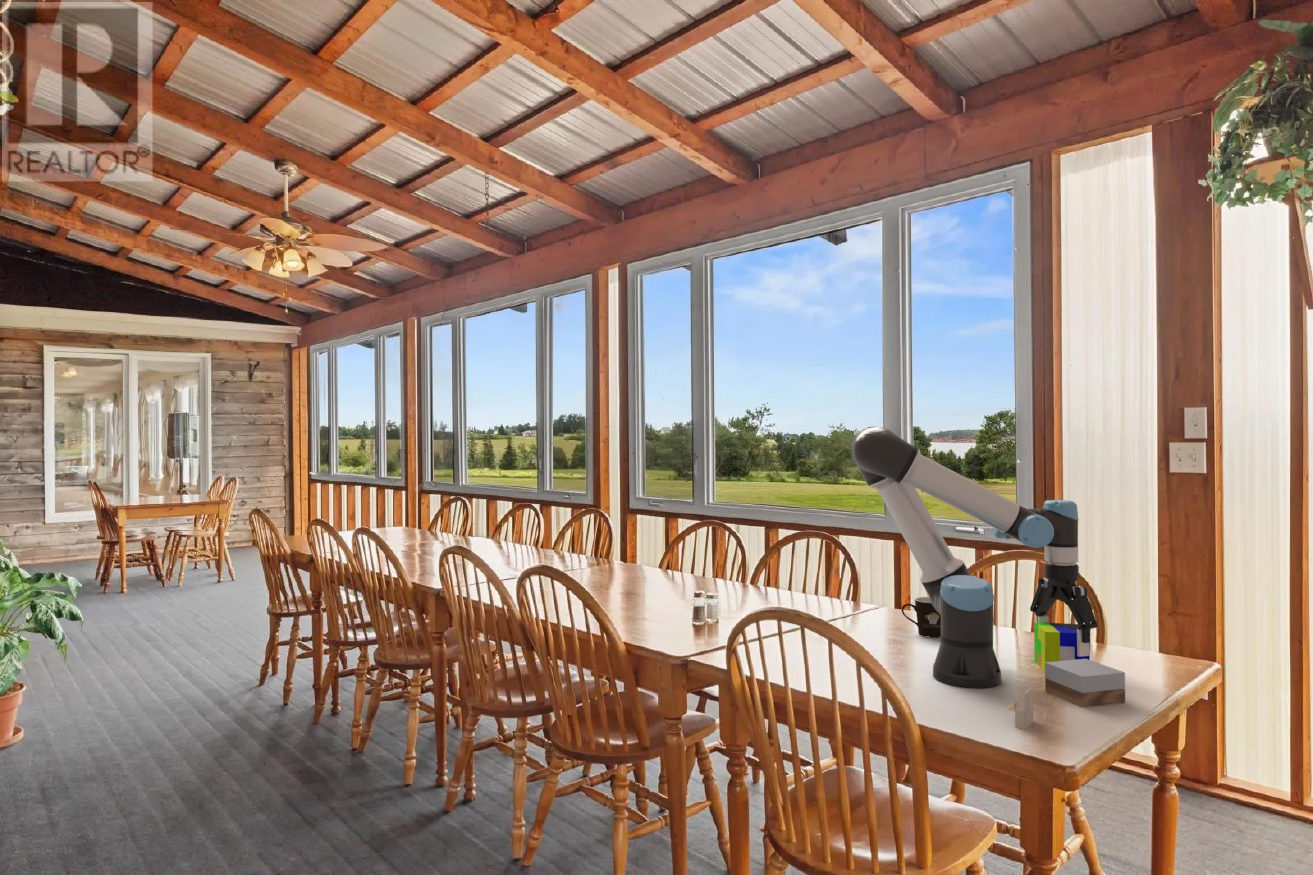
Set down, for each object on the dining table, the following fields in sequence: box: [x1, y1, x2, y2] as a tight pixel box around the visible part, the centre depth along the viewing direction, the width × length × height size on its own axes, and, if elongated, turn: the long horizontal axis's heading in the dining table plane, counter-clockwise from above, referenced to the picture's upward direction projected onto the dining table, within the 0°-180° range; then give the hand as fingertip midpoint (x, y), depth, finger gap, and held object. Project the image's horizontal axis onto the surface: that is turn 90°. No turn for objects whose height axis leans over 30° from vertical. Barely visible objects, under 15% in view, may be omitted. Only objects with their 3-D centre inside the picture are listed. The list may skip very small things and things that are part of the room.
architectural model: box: [1007, 686, 1034, 730], centre depth 164 cm, size 3×7×7 cm, turn 140°
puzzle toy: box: [1033, 621, 1091, 673], centre depth 201 cm, size 10×10×10 cm
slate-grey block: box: [1044, 659, 1126, 693], centre depth 179 cm, size 11×11×4 cm
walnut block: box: [1044, 677, 1126, 708], centre depth 179 cm, size 11×11×4 cm
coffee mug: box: [901, 596, 941, 638], centre depth 235 cm, size 12×9×10 cm
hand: (1062, 648), depth 201 cm, fingers open, 13 cm apart
